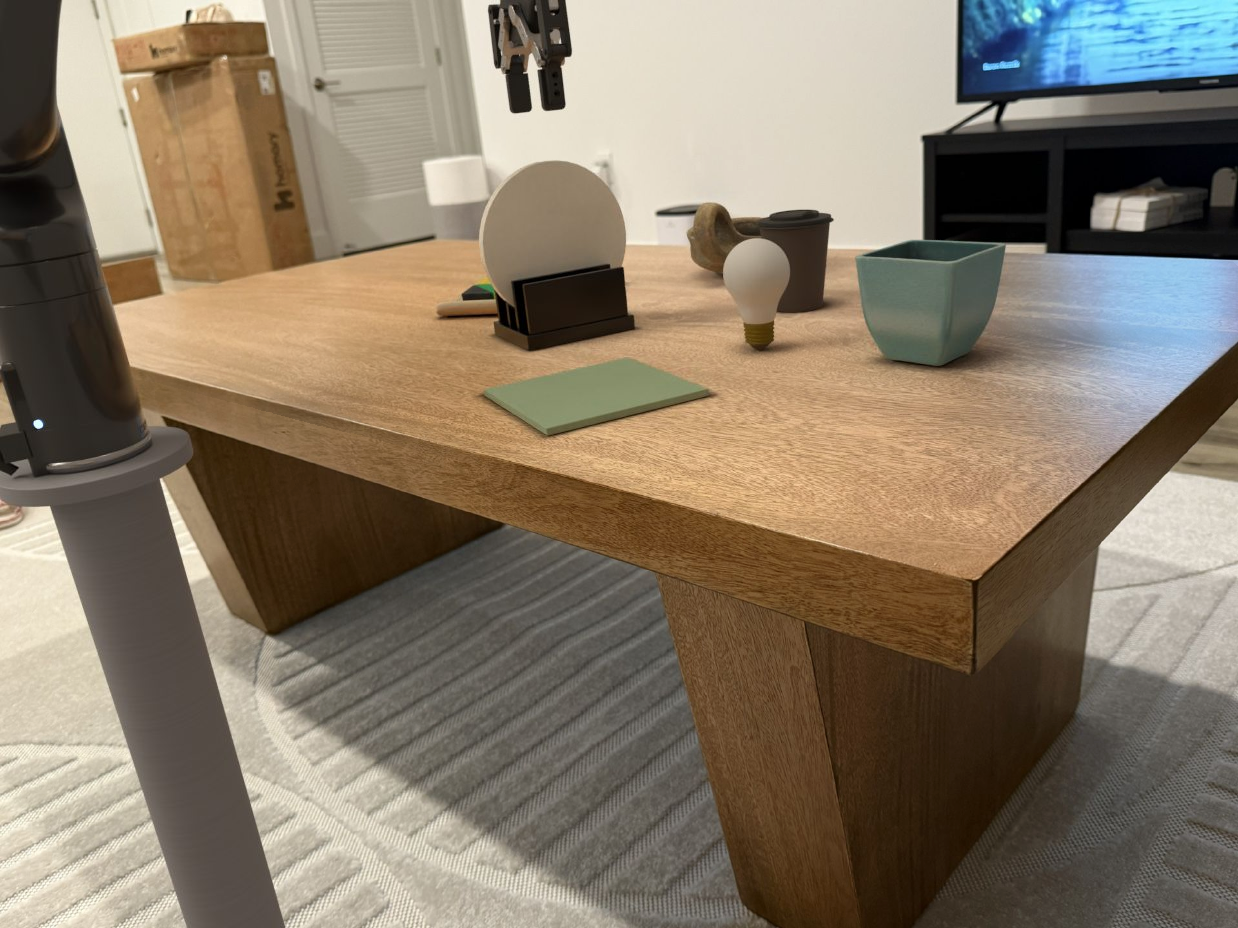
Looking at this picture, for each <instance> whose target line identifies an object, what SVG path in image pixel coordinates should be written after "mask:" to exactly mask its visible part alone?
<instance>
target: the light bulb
mask: <svg viewBox="0 0 1238 928" xmlns="http://www.w3.org/2000/svg"><path fill="white" fill-rule="evenodd" d="M722 276H723V283H724V286H725V289H726V291H727V292H728V293H729V295H730V296H731V298H732V299H733V301H734V302H735V304H736V306H737V309H738V313H739V316H740V319H741V320H742V322H743V323H742V325H743V331H744V339H745V340H744V341H745V342H744V343H746V344H747V345H749V346H750V347H752V348H753V349H754V350H756V351H762V350H766V349H767V348H768V347H769V346H770V345H771V343H773V342H774V341H775V335H774V334H775V331H774V330H775V318H776V316H777V311H776V310H777V306H778V302H779V300H780V298H781V296H782V294H783V292H784V291H785V289H786V287H787V285H788V282H789V277H790V266H789V262H788V259H787V257H786V255H785V253H784V252H783V250H782V249H781V248H780V247H779V246H778V245H776V244H775V243H773V242H771V241H769V240H766V239H761V238H754V239H749V240H745V241H743V242H741V243H740V244H738V245H737V246H735V247H734V248H733V249H732V250H731V252H730V253H729V255H728V256H727V258H726V260H725V263H724V268H723V274H722Z"/></svg>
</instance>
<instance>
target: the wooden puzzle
mask: <svg viewBox="0 0 1238 928" xmlns="http://www.w3.org/2000/svg"><path fill="white" fill-rule="evenodd" d="M435 313H436V315H437V316H440V317H448V316H449V317H450V316H473V315H475V316H477V315H498V313H497V306H496V299H495V292H494V288H493V286H492V285H491V283H490V282H489V280H488V278H487V275H486V276H484V277H483V278H482V279H480V280H479V281H478V282H476V283H475V284H473V285H472V286H470V287H469V288H467V289H466V290H465V291H463V292H462V293H461V294H460V295H459V296H457V297H455V298H454V299H452V300H451V301H441V302H439V303H437V304H436V306H435Z"/></svg>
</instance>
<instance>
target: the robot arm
mask: <svg viewBox="0 0 1238 928" xmlns="http://www.w3.org/2000/svg"><path fill="white" fill-rule="evenodd" d="M566 1H567V0H499V3H494V4H488V7H487V13H488V15H487V16H488V21H489V22H488V23H489V31H490V41H491V49H492V58H493V59H492V60H493V65H494V69H497V70H498V69H500V71H501V74H502V75H504V77H505V84H506V85H505V86H506V92H507V93H506V94H507V100H508V107H509V112H510V113H511V114H514V115H515V114H524V113H525V114H526V113H530V112H531V111H532V110H533V103H532V95H531V88H530V87H531V86H530V80H529V73H528V66H529V60H530V55H531V54H532V56H533V58H534V61H535V64H536V66H537V68H538V69H537V78H538V79H537V80H538V89H539V96H540V104H541V109H542V110H543V111H545V112H551V111H552V112H553V111H561V110H564V109H565V108H566V94H565V86H564V85H565V84H564V75H563V68H562V66H563V67H564V66H565V64H566V58H571V57H572V55H573V47H572V46H573V45H572V40H571V32H570V24H569V23H570V22H569V16H568V15H569V14H568V9H567V2H566ZM62 4H63V0H0V379H1V382H2V385H3V388H4V391H5V394H6V397H7V401H8V404H9V406H10V409H11V413H12V416H13V418H14V422H8V423H4V424H3V423H2V424H0V471H2V472H4V473H6V474H8V475H10V476H12V475H13V474H14V473H15V472H16V471H17V470H18V469H19V467H18V466H16V465H14V464H12V462H16V461H21V460H26V459H28V461H29V464H30V467H31V471H32V474H33V477H41V476H46V475H59V474H72V473H79V472H85V471H90V470H95V469H99V468H103V467H107V466H111V465H114V464H117V463H120V462H123V461H126V460H128V459H131V458H133V457H135V456H137V455H139V454H141V453H143V452H145V451H146V450H148V449H149V448H150V447H151V446H152V444H153V442H152V438H151V435H150V431H149V430H148V428H147V426H148V423H147V419H146V418H145V414H144V411H143V407H142V403H141V400H140V397H139V393H138V389H137V385H136V381H135V379H134V375H133V372H132V367H131V364H130V361H129V357H128V354H127V350H126V347H125V342H124V339H123V336H122V331H121V328H120V326H119V322H118V317H117V315H116V310H115V307H114V304H113V300H112V297H111V294H110V290H109V285H108V282H107V279H106V276H105V271H104V269H103V264H102V261H101V258H100V253H99V249H98V248H97V247H98V246H97V243H96V240H95V235H94V232H93V227H92V223H91V220H90V215H89V213H88V208H87V205H86V202H85V198H84V194H83V192H82V189H81V185H80V182H79V178H78V174H77V170H76V167H75V163H74V159H73V156H72V153H71V149H70V145H69V141H68V138H67V134H66V130H65V127H64V124H63V120H62V117H61V112H60V109H59V106H58V95H57V93H58V92H57V88H58V87H57V82H58V77H57V76H58V52H59V36H60V22H61V13H62Z"/></svg>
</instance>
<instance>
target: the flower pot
mask: <svg viewBox="0 0 1238 928" xmlns="http://www.w3.org/2000/svg"><path fill="white" fill-rule="evenodd" d="M1006 249H1007V244H1006V243H1004V242H1003V243H1002V242H1000V243H999V242H983V241H982V242H981V241H980V242H979V241H961V240H960V241H959V240H956V241H955V240H938V239H937V240H936V239H935V240H934V239H933V240H932V239H909V240H905V241H901V242H898V243H895V244H892V245H889V246H886V247H885V246H884V247H882V248H879V249H875V250H871V251H868V252H864V253H861V254H858V255H856V256H855V257H854V260H855V267H856V275H857V282H858V290H859V296H860V297H859V298H860V302H861V303H860V305H861V310H862V314H863V318H864V322H865V324H866V327H867V330H868V332H869V334H870V336H871V339H872V340H873V341H874V343H875V344H876V346H877V348H878V349H879V351H880V352H881V353H882V355H883V356H884V357H885V359H888V360H892V361H901V362H908V363H915V364H920V365H928V366H933V367H940V366H943V365H945V364H947V363H950V362H952V361H953V360H956V359H958V358H960V357H962V356H965V355H966V354H968V353H970V351H971V350H972V349H973V348H974V346H975V345H976V343H977V342H978V341H979V339H980V338H981V336H982V335H983V332H984V331H985V329H986V327H987V325H988V323H989V321H990V319H991V317H992V314H993V311H994V308H995V305H996V302H997V297H998V293H999V287H1000V283H1001V282H1000V281H1001V277H1002V270H1003V265H1004V259H1005V253H1006Z"/></svg>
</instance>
